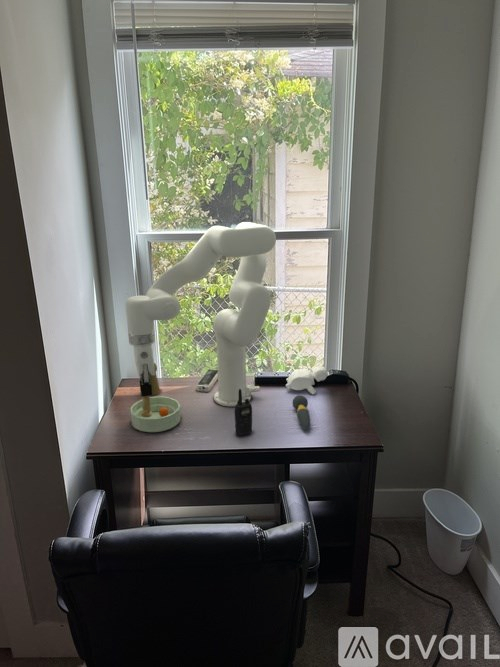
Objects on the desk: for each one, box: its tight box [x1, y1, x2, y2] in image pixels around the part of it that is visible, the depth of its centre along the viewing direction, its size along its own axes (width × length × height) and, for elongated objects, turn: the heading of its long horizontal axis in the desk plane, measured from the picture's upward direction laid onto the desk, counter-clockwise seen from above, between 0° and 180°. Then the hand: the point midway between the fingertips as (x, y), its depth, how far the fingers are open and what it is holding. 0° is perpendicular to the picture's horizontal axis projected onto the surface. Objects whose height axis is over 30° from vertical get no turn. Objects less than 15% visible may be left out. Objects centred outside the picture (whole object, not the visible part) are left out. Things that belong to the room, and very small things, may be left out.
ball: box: [159, 408, 169, 417], centre depth 163 cm, size 3×3×3 cm
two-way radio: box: [234, 389, 253, 437], centre depth 152 cm, size 6×4×15 cm
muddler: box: [141, 395, 152, 417], centre depth 159 cm, size 3×3×13 cm
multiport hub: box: [196, 369, 218, 393], centre depth 188 cm, size 4×14×2 cm, turn 167°
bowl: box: [129, 396, 182, 433], centre depth 161 cm, size 15×15×5 cm
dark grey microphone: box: [292, 394, 311, 431], centre depth 162 cm, size 20×5×5 cm, turn 7°
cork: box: [150, 362, 161, 397], centre depth 180 cm, size 6×6×11 cm
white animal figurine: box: [285, 365, 328, 395], centre depth 182 cm, size 9×8×15 cm
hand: (146, 393), depth 158 cm, fingers closed on muddler, 2 cm apart
